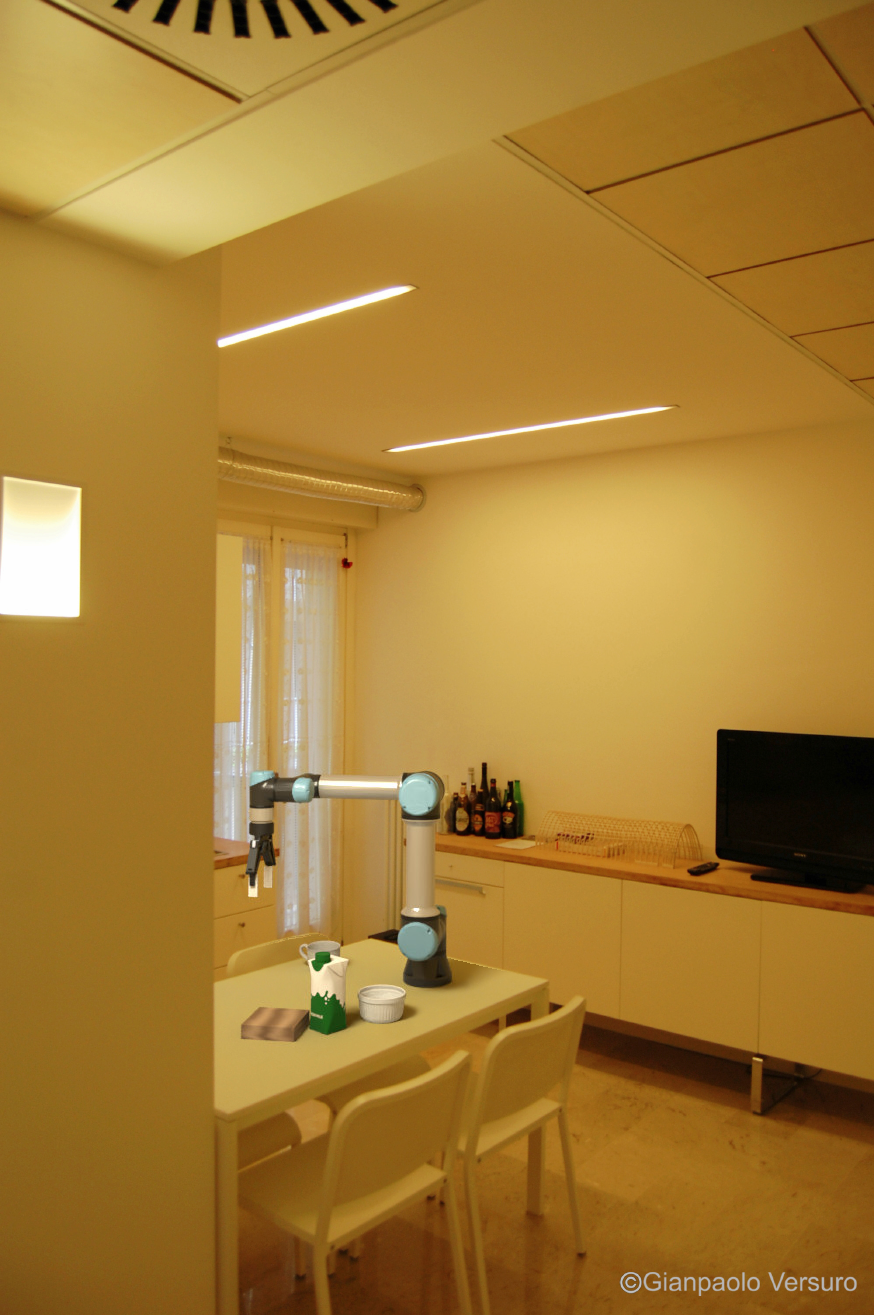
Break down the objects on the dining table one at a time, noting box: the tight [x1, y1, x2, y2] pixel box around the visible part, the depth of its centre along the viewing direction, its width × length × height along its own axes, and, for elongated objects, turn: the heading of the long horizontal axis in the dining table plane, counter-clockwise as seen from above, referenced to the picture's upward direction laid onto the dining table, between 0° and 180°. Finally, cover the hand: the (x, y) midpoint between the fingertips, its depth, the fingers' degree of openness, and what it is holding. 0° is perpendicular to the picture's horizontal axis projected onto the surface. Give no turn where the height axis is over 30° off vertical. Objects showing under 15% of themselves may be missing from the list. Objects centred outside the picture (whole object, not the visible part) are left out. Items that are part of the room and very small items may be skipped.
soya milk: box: [307, 951, 350, 1036], centre depth 253 cm, size 9×9×20 cm
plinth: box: [240, 1006, 311, 1043], centre depth 250 cm, size 14×14×4 cm
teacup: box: [298, 940, 341, 967], centre depth 306 cm, size 14×11×8 cm
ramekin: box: [357, 984, 407, 1025], centre depth 262 cm, size 13×13×7 cm
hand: (260, 892), depth 290 cm, fingers open, 13 cm apart
